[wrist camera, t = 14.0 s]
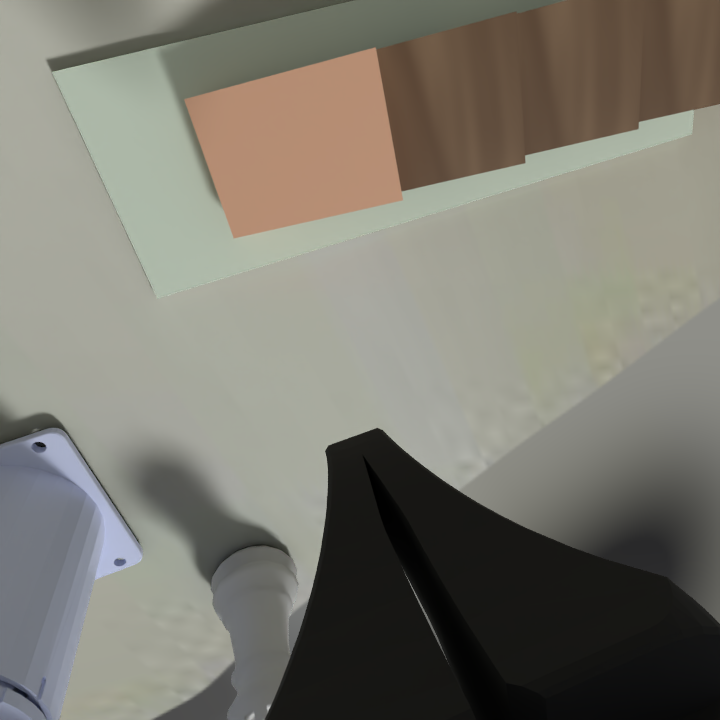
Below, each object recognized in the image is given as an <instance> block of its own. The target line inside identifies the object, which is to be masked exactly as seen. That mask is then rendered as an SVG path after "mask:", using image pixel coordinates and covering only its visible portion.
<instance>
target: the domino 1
mask: <svg viewBox="0 0 720 720" xmlns="http://www.w3.org/2000/svg"><path fill="white" fill-rule="evenodd" d="M376 51H377V57H378V62H379V68H380V74H381V79H382V85H383V90H384V96H385V102H386V107H387V113H388V118H389V124H390V130H391V135H392V141H393V146H394V152H395V158H396V163H397V169H398V174H399V180H400V186H401V191H406V190H411V189H415V188H419V187H424V186H428V185H433V184H437V183H441V182H446V181H450V180H454V179H459V178H463V177H467V176H472V175H476V174H481V173H485V172H489V171H494V170H498V169H502V168H507V167H511V166H515V165H520V164H524V163H526V162H525V145H524V128H523V111H522V93H521V76H520V59H519V42H518V24H517V11H515V12H512V13H508V14H504V15H501V16H497V17H493V18H490V19H486V20H482V21H479V22H475V23H471V24H468V25H464V26H460V27H457V28H453V29H449V30H446V31H442V32H438V33H435V34H431V35H427V36H424V37H420V38H416V39H413V40H409V41H405V42H402V43H398V44H394V45H391V46H387V47H383V48H380V49H376Z"/></svg>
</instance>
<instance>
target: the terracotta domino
mask: <svg viewBox="0 0 720 720" xmlns="http://www.w3.org/2000/svg"><path fill="white" fill-rule="evenodd" d="M184 101H185V103H186V106H187V109H188V112H189V115H190V117H191V120H192V123H193V126H194V129H195V131H196V134H197V137H198V140H199V143H200V145H201V148H202V151H203V154H204V157H205V159H206V162H207V165H208V168H209V171H210V173H211V176H212V179H213V182H214V185H215V187H216V190H217V193H218V196H219V199H220V201H221V204H222V207H223V210H224V213H225V215H226V218H227V221H228V224H229V227H230V229H231V232H232V235H233V238H238V237H243V236H247V235H252V234H256V233H261V232H265V231H269V230H274V229H278V228H283V227H287V226H292V225H296V224H300V223H305V222H309V221H314V220H318V219H323V218H327V217H331V216H336V215H340V214H345V213H349V212H354V211H358V210H362V209H367V208H371V207H376V206H380V205H385V204H389V203H393V202H398V201H402V200H403V197H402V191H401V186H400V180H399V174H398V169H397V163H396V158H395V152H394V146H393V141H392V135H391V130H390V124H389V118H388V113H387V107H386V102H385V96H384V90H383V85H382V79H381V74H380V68H379V62H378V57H377V51H376V47H375V48H371V49H368V50H364V51H360V52H356V53H353V54H349V55H345V56H342V57H338V58H334V59H331V60H327V61H323V62H320V63H316V64H312V65H309V66H305V67H301V68H298V69H294V70H290V71H286V72H283V73H279V74H275V75H272V76H268V77H264V78H261V79H257V80H253V81H250V82H246V83H242V84H239V85H235V86H231V87H227V88H224V89H220V90H216V91H213V92H209V93H205V94H202V95H198V96H194V97H191V98H187V99H184Z"/></svg>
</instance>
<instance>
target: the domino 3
mask: <svg viewBox="0 0 720 720" xmlns="http://www.w3.org/2000/svg"><path fill="white" fill-rule="evenodd" d="M717 104H720V0H645V3H644V24H643V45H642V67H641V88H640V109H639V122H641V121H646V120H650V119H655V118H659V117H664V116H668V115H673V114H677V113H682V112H686V111H690V110H695V109H699V108H704V107H708V106H713V105H717Z"/></svg>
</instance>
